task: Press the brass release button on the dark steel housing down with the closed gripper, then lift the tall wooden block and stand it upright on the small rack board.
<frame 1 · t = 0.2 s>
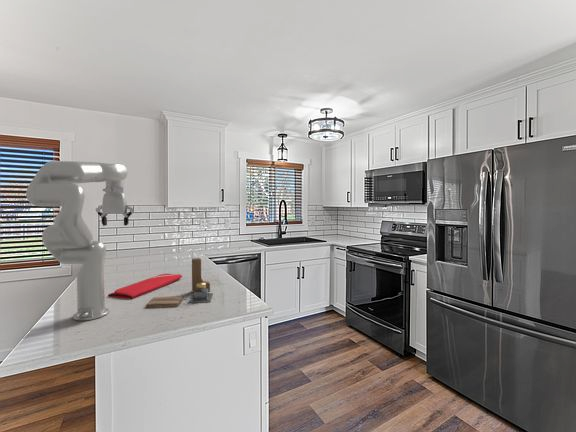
hand: (115, 225, 145), 37 cm above the counter, tool pointing down, fingers open, 9 cm apart
release button: (201, 285, 145), point 7 cm above the counter, slide at 0.0 cm
wooden block: (201, 291, 158), on the counter
rack board: (165, 303, 139), on the counter
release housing: (201, 298, 146), on the counter
dish drying mat: (149, 288, 166), on the counter
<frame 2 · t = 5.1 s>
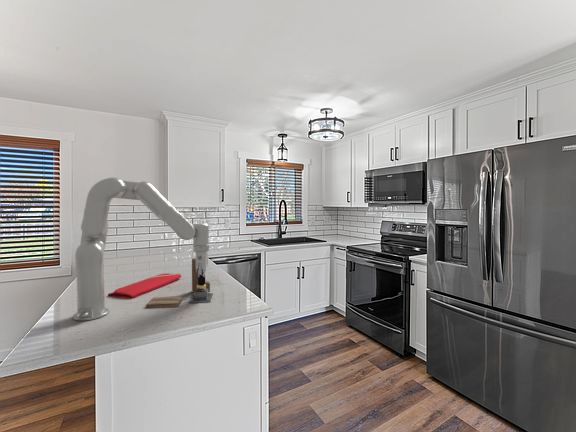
hand: (201, 284, 145), 7 cm above the counter, tool pointing down, fingers closed
release button: (201, 286, 145), point 6 cm above the counter, slide at 0.5 cm, touching gripper
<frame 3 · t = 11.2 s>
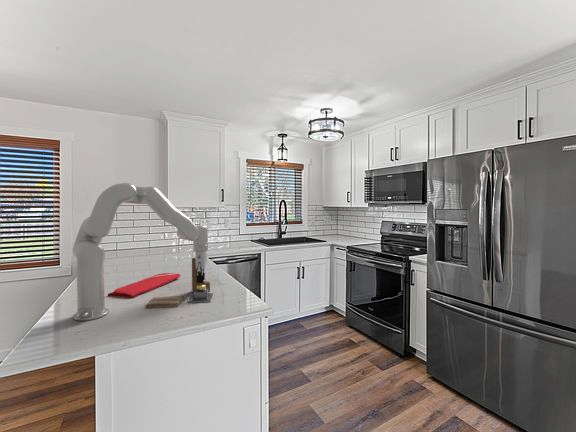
hand: (200, 281, 158), 6 cm above the counter, tool pointing down, fingers closed on wooden block, 4 cm apart
release button: (201, 287, 145), point 6 cm above the counter, slide at 1.0 cm
wooden block: (201, 291, 158), on the counter, touching gripper
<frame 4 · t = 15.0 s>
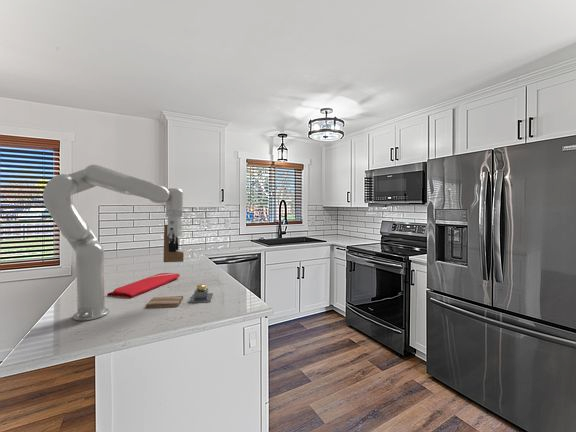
hand: (173, 250, 142), 25 cm above the counter, tool pointing down, fingers closed on wooden block, 4 cm apart
wooden block: (173, 262, 142), point 19 cm above the counter, touching gripper
when the fingers open (8 cm above the counter, at t = 19.2 s): wooden block stays where it is, resting on rack board.
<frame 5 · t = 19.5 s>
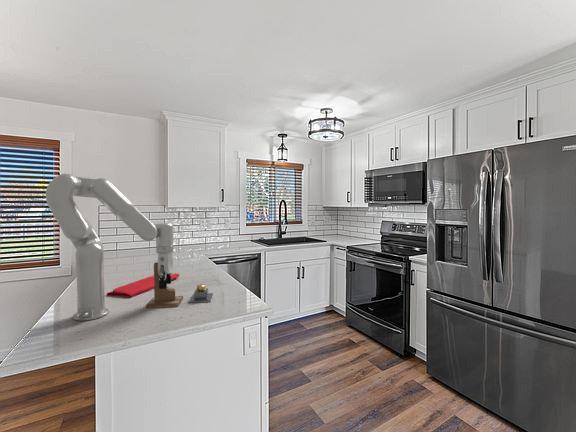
hand: (165, 285, 138), 8 cm above the counter, tool pointing down, fingers open, 7 cm apart
wooden block: (165, 300, 139), point 1 cm above the counter, touching rack board
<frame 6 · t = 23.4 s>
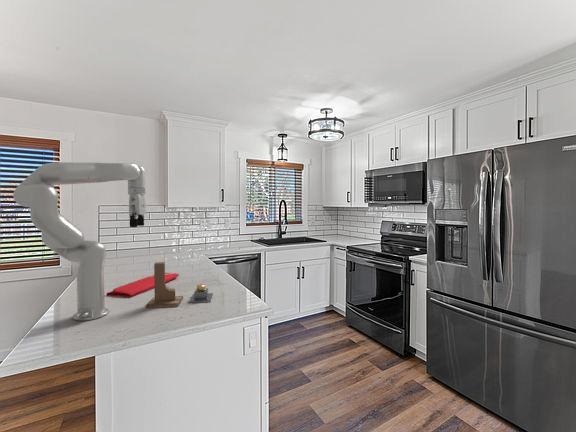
hand: (137, 226, 144), 36 cm above the counter, tool pointing down, fingers open, 9 cm apart
at the end: release button slide at 1.0 cm; wooden block inside the target area on the rack board (0.1 cm from its centre), point 1.3 cm above the rack board's base; wooden block tilted 0° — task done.
